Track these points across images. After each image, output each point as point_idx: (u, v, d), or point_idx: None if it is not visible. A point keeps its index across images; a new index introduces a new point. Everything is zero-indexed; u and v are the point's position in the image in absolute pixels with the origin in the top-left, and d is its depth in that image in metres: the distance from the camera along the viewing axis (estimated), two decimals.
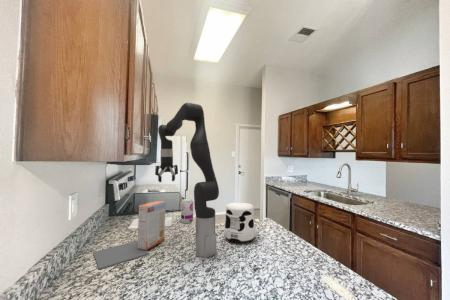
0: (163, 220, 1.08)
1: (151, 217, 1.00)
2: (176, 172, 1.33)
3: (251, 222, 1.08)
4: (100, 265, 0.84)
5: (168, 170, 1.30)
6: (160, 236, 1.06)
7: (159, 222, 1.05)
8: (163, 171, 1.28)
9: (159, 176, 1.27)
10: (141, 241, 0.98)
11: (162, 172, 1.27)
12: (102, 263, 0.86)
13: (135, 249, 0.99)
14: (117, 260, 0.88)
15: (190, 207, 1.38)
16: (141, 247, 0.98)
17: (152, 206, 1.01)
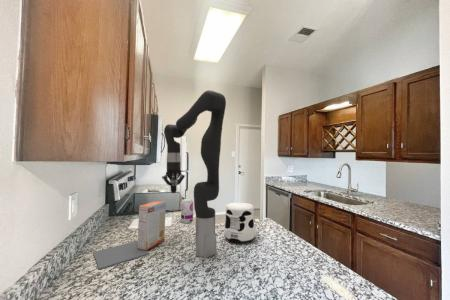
0: (163, 220, 1.08)
1: (151, 217, 1.00)
2: (179, 182, 1.13)
3: (251, 222, 1.08)
4: (100, 265, 0.84)
5: (173, 176, 1.11)
6: (160, 236, 1.06)
7: (159, 222, 1.05)
8: (173, 179, 1.10)
9: (172, 186, 1.11)
10: (141, 241, 0.98)
11: (173, 181, 1.10)
12: (102, 263, 0.86)
13: (135, 249, 0.99)
14: (117, 260, 0.88)
15: (190, 207, 1.38)
16: (141, 247, 0.98)
17: (152, 206, 1.01)
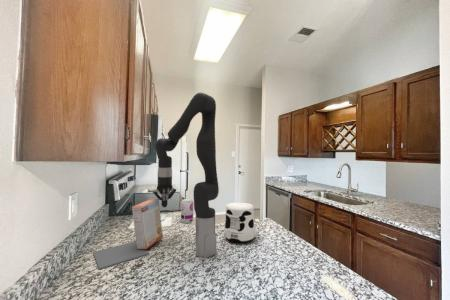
0: (158, 217, 1.08)
1: (146, 216, 0.99)
2: (170, 196, 1.12)
3: (251, 222, 1.08)
4: (100, 265, 0.84)
5: None
6: (158, 233, 1.06)
7: (155, 219, 1.05)
8: (164, 194, 1.09)
9: (162, 201, 1.10)
10: (140, 241, 0.98)
11: (163, 196, 1.09)
12: (102, 263, 0.86)
13: (135, 249, 0.99)
14: (117, 260, 0.88)
15: (190, 207, 1.38)
16: (141, 247, 0.98)
17: (145, 205, 1.00)
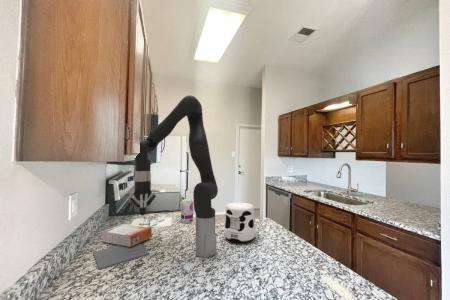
0: (134, 226, 1.15)
1: (114, 230, 1.08)
2: (148, 203, 1.03)
3: (251, 222, 1.08)
4: (100, 265, 0.84)
5: None
6: (141, 228, 1.10)
7: (129, 227, 1.12)
8: (141, 200, 1.00)
9: (140, 208, 1.01)
10: (125, 241, 1.01)
11: (141, 202, 1.00)
12: (102, 263, 0.86)
13: (135, 249, 0.99)
14: (117, 260, 0.88)
15: (190, 207, 1.38)
16: (129, 241, 1.00)
17: (109, 229, 1.10)
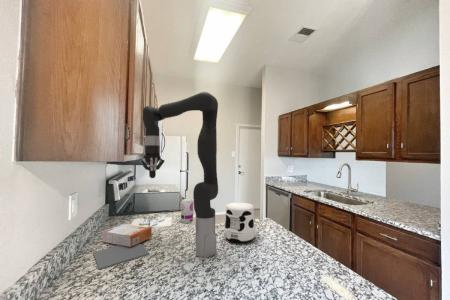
0: (134, 226, 1.15)
1: (114, 230, 1.08)
2: (158, 166, 1.08)
3: (251, 222, 1.08)
4: (100, 265, 0.84)
5: None
6: (141, 228, 1.10)
7: (129, 227, 1.12)
8: (151, 164, 1.06)
9: (150, 171, 1.06)
10: (125, 241, 1.01)
11: (151, 165, 1.05)
12: (102, 263, 0.86)
13: (135, 249, 0.99)
14: (117, 260, 0.88)
15: (190, 207, 1.38)
16: (129, 241, 1.00)
17: (109, 229, 1.10)
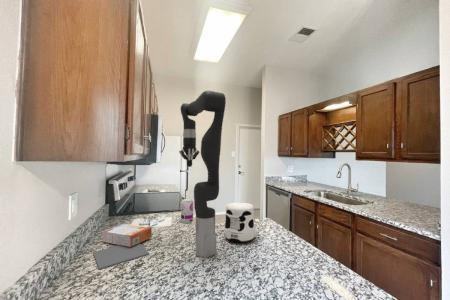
0: (134, 226, 1.15)
1: (114, 230, 1.08)
2: (194, 157, 1.22)
3: (251, 222, 1.08)
4: (100, 265, 0.84)
5: (189, 151, 1.20)
6: (141, 228, 1.10)
7: (129, 227, 1.12)
8: (189, 154, 1.19)
9: (188, 160, 1.20)
10: (125, 241, 1.01)
11: (189, 155, 1.19)
12: (102, 263, 0.86)
13: (135, 249, 0.99)
14: (117, 260, 0.88)
15: (190, 207, 1.38)
16: (129, 241, 1.00)
17: (109, 229, 1.10)
